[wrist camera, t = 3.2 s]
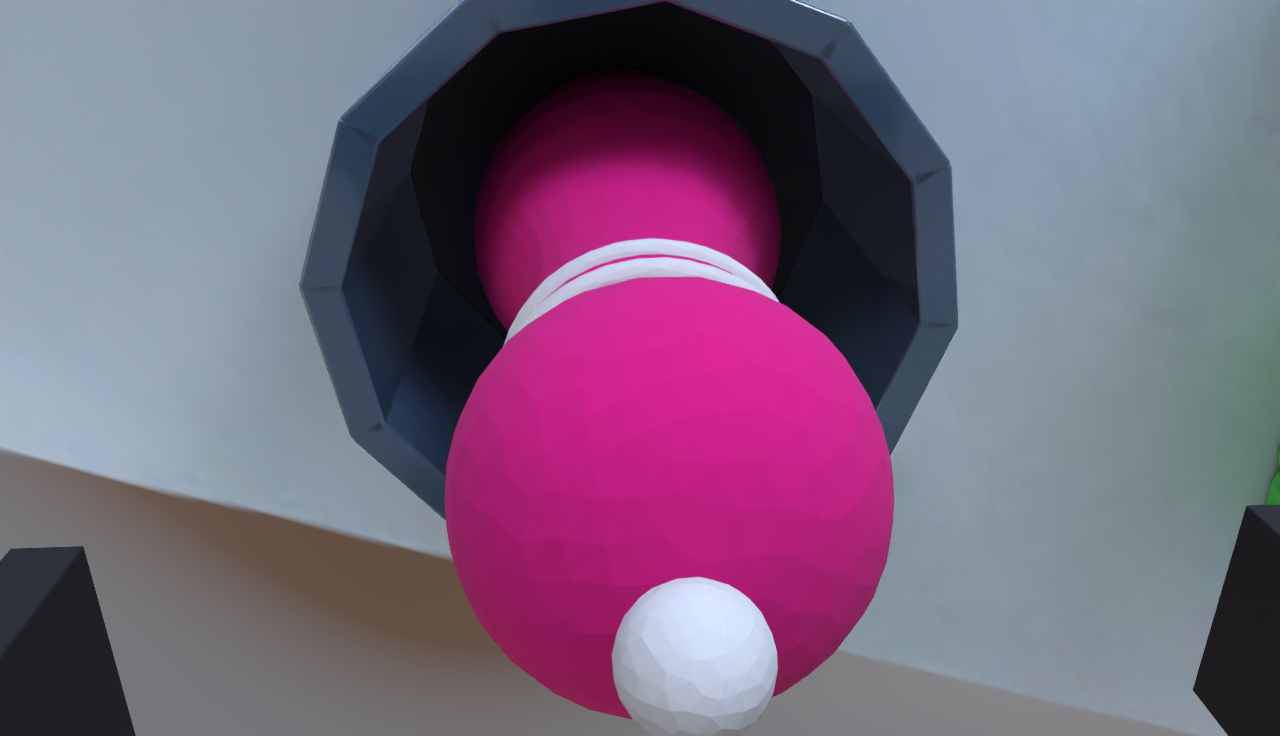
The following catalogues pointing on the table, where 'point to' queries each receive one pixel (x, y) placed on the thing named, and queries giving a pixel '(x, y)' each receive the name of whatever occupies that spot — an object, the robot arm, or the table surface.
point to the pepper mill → (657, 422)
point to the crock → (466, 343)
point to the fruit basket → (1274, 488)
